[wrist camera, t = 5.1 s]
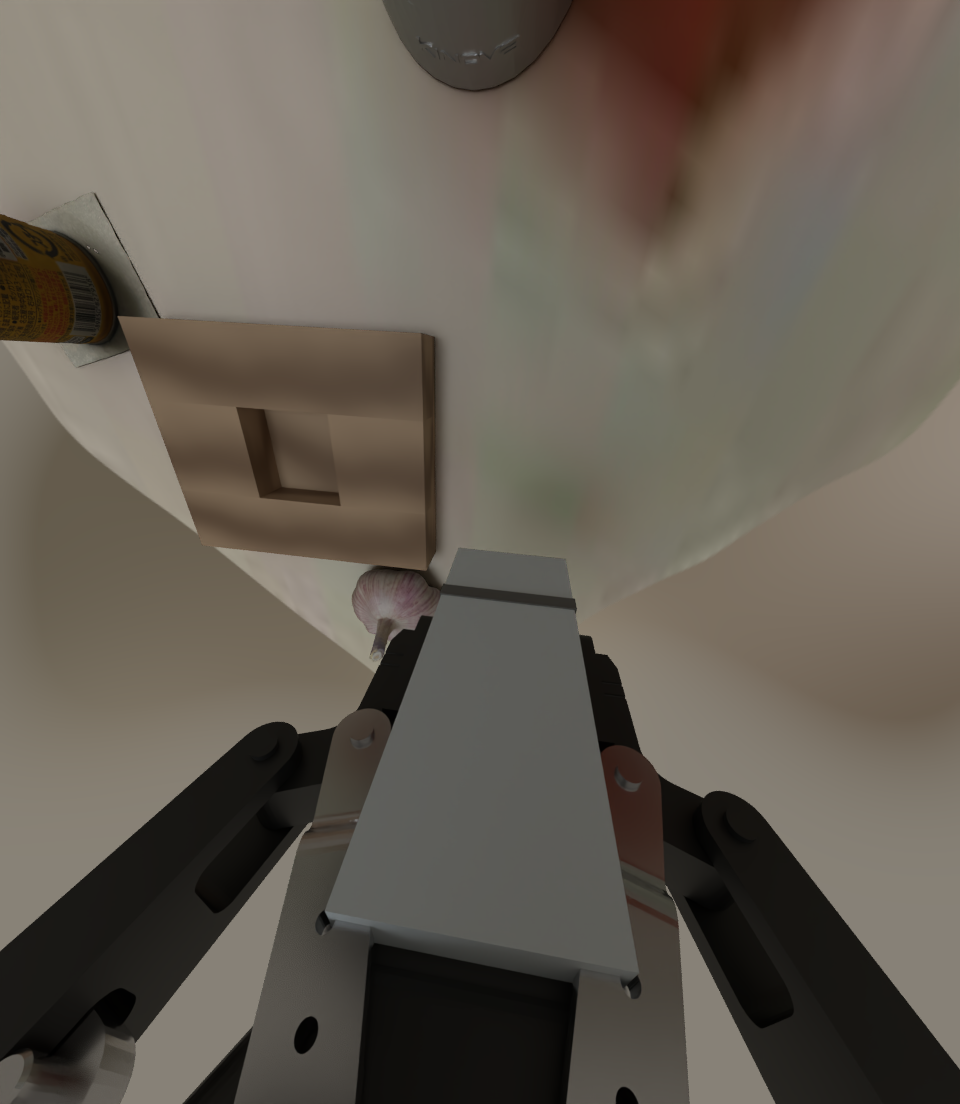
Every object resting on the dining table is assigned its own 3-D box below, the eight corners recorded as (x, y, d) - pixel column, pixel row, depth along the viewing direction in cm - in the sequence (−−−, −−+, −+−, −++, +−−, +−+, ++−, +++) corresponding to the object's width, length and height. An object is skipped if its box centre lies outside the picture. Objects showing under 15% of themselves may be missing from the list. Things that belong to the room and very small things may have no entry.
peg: (457, 546, 13) (321, 908, 5) (567, 557, 13) (644, 972, 4) (455, 628, 15) (358, 988, 7) (550, 640, 15) (579, 1035, 6)
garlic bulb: (463, 592, 30) (443, 661, 23) (414, 636, 34) (384, 708, 27) (393, 537, 29) (349, 593, 22) (349, 588, 32) (298, 652, 25)
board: (164, 321, 23) (117, 316, 20) (434, 336, 21) (421, 333, 19) (230, 529, 30) (202, 545, 27) (435, 551, 29) (426, 570, 26)
